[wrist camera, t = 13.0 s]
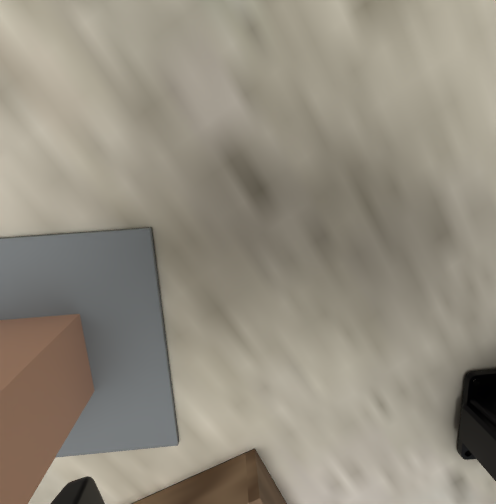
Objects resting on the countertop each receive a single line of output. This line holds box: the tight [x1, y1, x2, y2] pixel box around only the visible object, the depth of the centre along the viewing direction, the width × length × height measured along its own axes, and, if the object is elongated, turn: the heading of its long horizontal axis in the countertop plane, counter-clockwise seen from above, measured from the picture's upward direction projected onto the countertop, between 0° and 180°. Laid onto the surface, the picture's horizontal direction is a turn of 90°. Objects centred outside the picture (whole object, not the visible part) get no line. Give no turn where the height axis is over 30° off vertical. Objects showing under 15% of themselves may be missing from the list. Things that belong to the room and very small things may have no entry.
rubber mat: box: [0, 228, 179, 457], centre depth 20 cm, size 14×14×1 cm
